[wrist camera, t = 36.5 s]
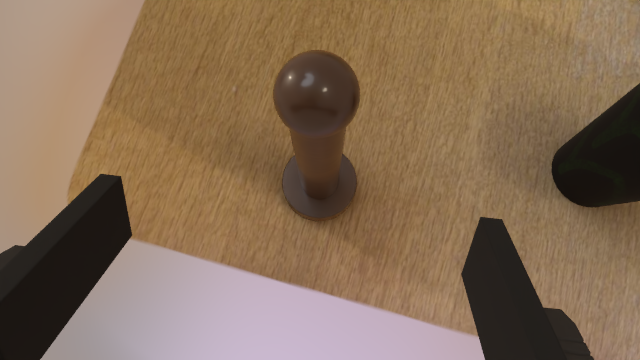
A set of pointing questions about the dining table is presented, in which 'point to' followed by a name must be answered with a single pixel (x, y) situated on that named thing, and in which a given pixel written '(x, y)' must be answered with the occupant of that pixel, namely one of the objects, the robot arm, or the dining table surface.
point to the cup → (603, 157)
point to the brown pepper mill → (317, 132)
